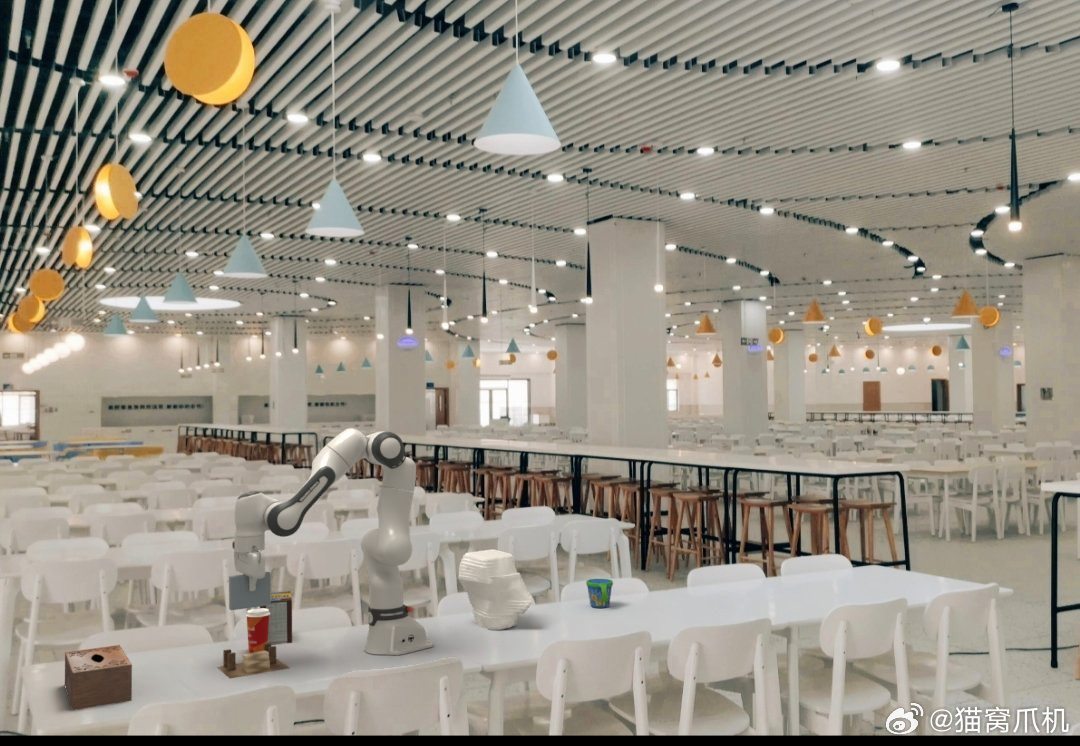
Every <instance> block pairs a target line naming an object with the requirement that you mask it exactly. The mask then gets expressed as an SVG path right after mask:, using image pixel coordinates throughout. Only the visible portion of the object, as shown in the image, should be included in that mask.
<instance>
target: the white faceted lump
mask: <svg viewBox="0 0 1080 746" xmlns="http://www.w3.org/2000/svg"><path fill="white" fill-rule="evenodd" d="M515 564H516V562H515V557H514V555H513V554H512V553H509V552H507V551H501V550H497V549H493V548H492V549H486V550H485V549H484V550H478V551H477V550H476V551H470V552H469V551H468V552H465V553H464V554H463V555H462V558H461V561H460V562H459V565H458V566H459V569H458V577H457V579H459V582H460V584H461V585H462V587H463V589H464V591H465V593H467V598H468V601H469V603H470V605H471V607H472V613H473V618H474V621H475V624H476V625H477V626H478V627H479V628H482V629H483V628H484V629H487V630H490V631H502V630H505V629H510V628H512V627H514V626H516V625H517V623H518V617H519V615H521V614H525V613H526V612H527V611H528V609H529V608H530V606H531V605H532V603H533V598H532V596H531V594H530V593H529V590H528V587H527V586H526V582H525V581H524V579H523V578H522V575H521V572H518V570H517V568H516V565H515Z"/></svg>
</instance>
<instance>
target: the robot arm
mask: <svg viewBox="0 0 1080 746" xmlns="http://www.w3.org/2000/svg"><path fill="white" fill-rule="evenodd" d="M405 450H406V449H405V447H404V443H403V440H402V438H401V437H400V436H399V435H397V434H396V433H395V432H393V431H392V432H391V431H382V430H381V431H376V432H371V433H368V434H365V435H364V433H362V432H361V431H360V430H358V429H356V428H352V427H350V428H346V429H345V430H343V431H341V432H339V434H337V435H336V436H335V437H333V439H330V441H329V442H328V443H326V445H325V446H324V447H323V448H322V449H320V451H319V452H318V453H317V455H316V456H315V457H314V459H313V461H312V463H311V472H310V473H311V474H310V476H309V478H308V479H307V481H306V482H305V483H304V484H303V485H302V486H301V487H300V488H299V490H298V491H297V492H296V493H294V495H292V497H291V498H290V499H288V500H286V501H283V500H280V499H279V500H278V499H276V498H273V497H270V496H268V495H266V494H264V493H263V492H261V491H258V490H257V491H250V492H246V493H243V494H241V495H240V496H238V497H237V498H236V502H235V506H234V525H235V533H234V540H233V541H232V542H231V548H232V549H233V559H234V568H235V571H236V572H238V573H241V575H246V576H248V577H249V585H248V587H249V588H248V589H249V590H250V591H255V589H256V582H257V579H261V578H264V577H265V572H266V562H265V555H264V553H263V552H261V551H263V550H264V551H265V549H266V548H265V545H266V542H265V540H266V539H265V537H266V536H265V532H266V531H270V532H271V533H272V534H274V535H275V536H276V537H277V536H278V537H290V536H292V535H294V534H295V533H297V531H298V530H299V529H300V528H301V525H302V523H303V520H304V518H305V516H306V514H307V513H308V511H309V510H310V509H311V508H312V506H313V505H315V503H316V502H317V501H318V500H319V499H320V498H321V497H322V496H323V494H325V492H326V491H328V489H330V488H331V487H332V486H333V485H334V484H335V483H337V481H339V480H340V479H341V478H343V477H344V476H345V475H346V474H347V473H348V472H349V471H350V470H351V469H352V468H353V466H355V464H356V463H358V462H359V461H360V460H364V461H365V462H367V463H368V464H371V465H377V466H381V469H382V472H383V479H382V482H381V485H380V486H381V487H380V490H379V491H380V492H379V495H378V496H379V497H378V499H377V500H378V501H377V506H376V512H377V517H378V528H374V529H371V530H369V531H367V532H366V533H365V534H364V535H363V536H362V538H361V541H360V547H361V551H362V554H363V557H364V561H365V566H366V572H367V579H368V587H369V591H368V592H369V596H368V598H369V605H368V607H367V608H368V609H367V621H368V622H367V623H368V633H367V640H366V644H365V648H364V651H365V652H366V653H368V654H372V655H389V656H390V655H392V656H402V655H404V654H409V653H412V652H417V651H420V650H421V651H422V650H425V649H428V648H433V647H434V642H433V641H432V640H430V639H429V638H428V637H427V633H426V629H425V627H424V626H423V625H422V624H421V623H420V622H418V621H417V620H416V619H414V618H413V617H411V616H410V615H409V614H412V613H414V611H415V608H414V607H413V606H411V605H406V604H404V580H403V578H402V576H401V573H400V569H399V566H401V565H404V564H406V563H407V562H408V561H409V560H410V559H411V556H412V554H413V545H412V542H411V539H410V538H411V533H410V532H411V531H410V518H411V517H410V516H411V509H412V504H413V498H414V495H415V494H414V493H415V489H416V488H415V487H416V481H417V480H416V477H417V465H416V462H415V461H414V460H413V459H412V458H410V457H407V454H406V453H407V452H405Z"/></svg>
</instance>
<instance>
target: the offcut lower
mask: <svg viewBox="0 0 1080 746" xmlns="http://www.w3.org/2000/svg"><path fill="white" fill-rule="evenodd" d="M268 669H270V661H265V662H259V663H254V664H249V665H245V664H244V672H246V673H250V672H256V671H262V670H268Z"/></svg>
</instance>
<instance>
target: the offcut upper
mask: <svg viewBox="0 0 1080 746" xmlns="http://www.w3.org/2000/svg"><path fill="white" fill-rule="evenodd" d="M241 656H242V658H241V659H242V660H241V661H242V662H241V663H243V664H245V665H249V664H254V663H259V662H265V661H269V652H267V651H259V652H254V653H249V652H248V653H244V654H242V655H241Z"/></svg>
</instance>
